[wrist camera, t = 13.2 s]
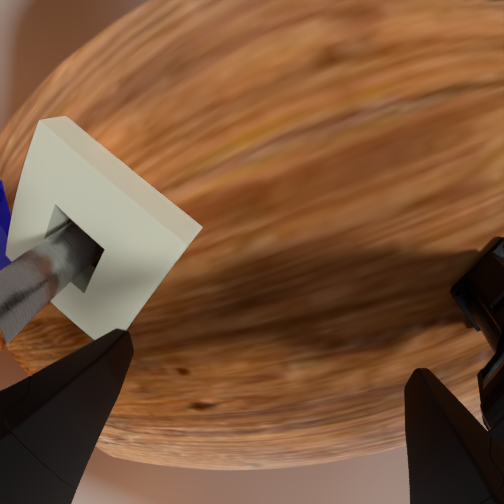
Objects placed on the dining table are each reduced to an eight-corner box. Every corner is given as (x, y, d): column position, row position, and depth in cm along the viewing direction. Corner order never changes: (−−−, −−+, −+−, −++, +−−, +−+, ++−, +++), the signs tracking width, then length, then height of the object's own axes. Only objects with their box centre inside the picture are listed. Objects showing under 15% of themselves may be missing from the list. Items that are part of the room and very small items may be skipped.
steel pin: (116, 245, 22) (2, 354, 10) (91, 261, 23) (-11, 361, 11) (92, 206, 20) (-38, 295, 9) (69, 226, 22) (-45, 312, 10)
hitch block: (203, 227, 20) (188, 245, 17) (125, 331, 26) (110, 352, 23) (66, 115, 17) (39, 119, 15) (24, 241, 23) (5, 254, 21)
